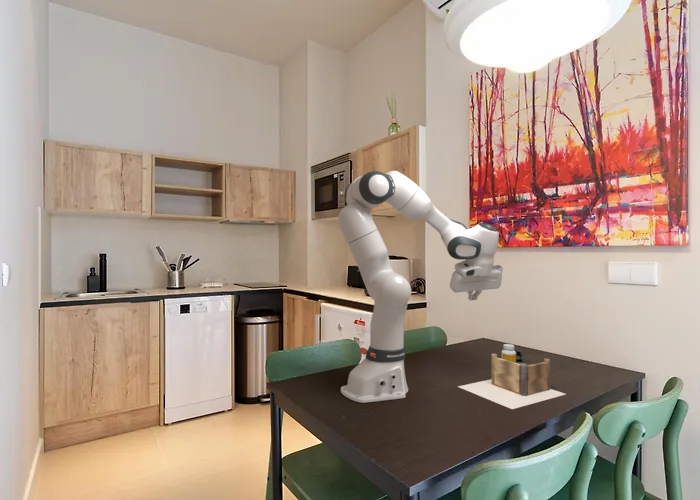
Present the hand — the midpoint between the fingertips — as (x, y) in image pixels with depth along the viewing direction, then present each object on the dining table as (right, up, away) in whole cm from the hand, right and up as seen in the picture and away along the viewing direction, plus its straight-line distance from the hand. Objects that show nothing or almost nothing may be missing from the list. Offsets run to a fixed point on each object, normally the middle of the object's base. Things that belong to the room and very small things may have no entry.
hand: (472, 299), depth 154 cm
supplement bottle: (+15, -28, +4) cm, 32 cm away
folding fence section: (+5, -27, -19) cm, 33 cm away
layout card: (+6, -28, -20) cm, 35 cm away
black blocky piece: (+25, -29, +19) cm, 42 cm away
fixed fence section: (+14, -28, -22) cm, 38 cm away
